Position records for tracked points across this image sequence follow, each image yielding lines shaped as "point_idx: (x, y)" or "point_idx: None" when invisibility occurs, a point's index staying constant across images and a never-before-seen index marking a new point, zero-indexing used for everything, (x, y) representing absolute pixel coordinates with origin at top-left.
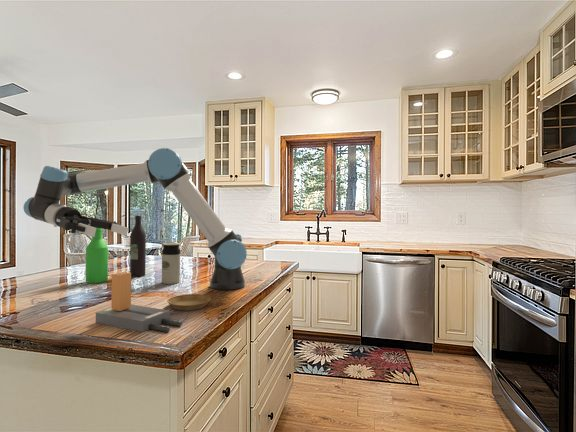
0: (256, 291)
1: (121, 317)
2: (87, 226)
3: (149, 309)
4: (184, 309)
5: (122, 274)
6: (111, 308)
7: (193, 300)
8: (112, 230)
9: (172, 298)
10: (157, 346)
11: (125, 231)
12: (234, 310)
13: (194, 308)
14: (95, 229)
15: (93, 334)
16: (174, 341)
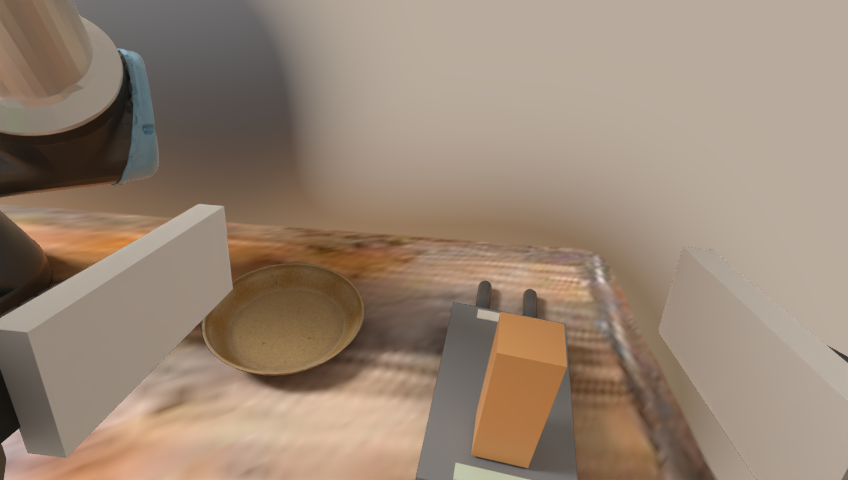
0: (105, 218)
1: (570, 389)
2: (769, 306)
3: (462, 354)
4: (349, 319)
5: (545, 324)
6: (528, 465)
7: (227, 330)
8: (90, 416)
9: (258, 371)
10: (604, 287)
11: (224, 251)
12: (329, 231)
13: (340, 297)
14: (687, 261)
15: (647, 456)
16: (566, 272)
